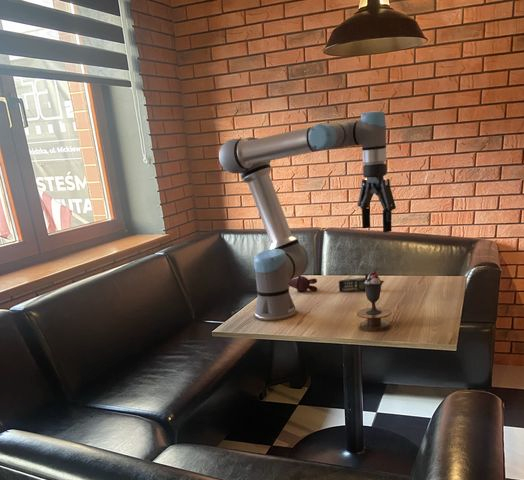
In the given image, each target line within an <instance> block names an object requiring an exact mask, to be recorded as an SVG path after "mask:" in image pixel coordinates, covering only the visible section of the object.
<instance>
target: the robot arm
mask: <svg viewBox="0 0 524 480" xmlns="http://www.w3.org/2000/svg"><path fill="white" fill-rule="evenodd" d="M386 123H387V122H386V114H385V111H383V110H376V111H368V112H363V113H361V115H360V119H358V120H353V121H344V122H342V121H341V122H329V123H328V122H320V123H318V124H315V125H313V126H309V127H308V126H307V127H304V128H300V129H299V128H298V129H294V130H291V131H285V132H282V133H278V134H274V135H273V134H272V135H267V136H264V137H254V136H253V137H251V136H250V137H246V138H245V137H244V138H232V139H229V140H227V141H225V142H224V143H223V144H222V145H221V147H220V149H219V152H218V159H219V163H220V165H221V167H222V168H223V169H224V170H225V171H226V172H228V173H231V174H239V175H240V178H241V181H242V182H244V183H246V184H247V185H248V187H249V188H248V189H249V190H250V193H251V195H252V198H253V200H254V203H255V206H256V209H257V212H258V214H259V216H260V219H261V221H262V224H263V227H264V229H265V231H266V234H267V237H268V239H269V242H270V247H269V249H267V250H263V251H260V252H259V253H257V254H256V255H255V256H254V259H253V263H254V265H253V269H254V274H255V283H256V293H257V299H256V303H255V308H254V317H255V318H256V320H260V321H265V322H268V321H269V322H271V321H272V322H274V321H282V320H286V319H290V318H292V317H293V316H295V315H296V314H297V309H296V306H295V303H294V301H293V299H292V297H291V293H290V286H289V285H288V281H290V280H292V279H296V278H298V277H299V276H302V275H304V273H306V272H307V271H308V269H309V267H310V265H311V256H310V252H309V250H308V248H306V246H303V245H302V244H300V241H299V239H298V238H297V237H296V236H293V235H292V231H291V229H290V226H289V223H288V220H287V218H286V215H285V213H284V209H283V207H282V204H281V202H280V199H279V197H278V195H277V192H276V188H275V186H274V184H273V181H272V178H271V176H270V173H271V172H272V167H271V162H272V161H275V160H281V159H286V158H290V157H291V158H292V157H296V156H300V155H306V154H310V153H317V152H323V151H328V150H332V149H342V148H348V147H356V146H361V151H362V152H361V155H362V157H361V158H362V164H363V166H362V176H363V177H364V178H362V179H361V181H360V182H361V183H360V184H361V186H360V190H359V196H358V201H357V207H358V208H359V207H360V209H361V225H362V226H361V227H362V229H369V228H371V206H370V203H371V201H372V199H373V196H374V195H376V196H377V198H378V200H379V203H380V205H381V206H382V209H383V210H382V233H391V232H392V230H393V229H392V221H393V220H392V219H393V218H392V212H393V210H396V208H397V205H396V202H395V199H394V196H393V192H392V188H391V182H390V181H391V180H390V178H384V176H386V175H387V174H388V169H387V163H385V162H386V161H387V124H386Z"/></svg>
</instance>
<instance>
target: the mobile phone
mask: <svg viewBox="0 0 524 480" xmlns="http://www.w3.org/2000/svg"><path fill="white" fill-rule="evenodd" d="M364 281H365V277H359V278H357V277H356V278H348V279H340V280H339V281H338V288H339V290H338V291H339V292H340V293H341V292H342V293H343V292H345V293H346V292H363V291H366V290H365V285H363V283H362V282H364Z"/></svg>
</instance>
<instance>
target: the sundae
mask: <svg viewBox="0 0 524 480" xmlns="http://www.w3.org/2000/svg"><path fill="white" fill-rule="evenodd" d="M377 270H379V267H378V266H376V268H375V270H374V271H372V273H369V274H365V276H364V278H365V281H364V282H362V283H363V285H365V290H364V291H365V295H366V299H367V301H369V302H370V303H371V307H370V308H371V310H369V311H367V312H366V313H367V314H369V315H376V314H380V313H381V312H382V311H380V310H377V309H376V308H377V307H376V302H378V301H379V299H380V297H381V292H382V285H383V284H384V282H385V281H384V280H381V278H380V277H379V275H378V274H377Z"/></svg>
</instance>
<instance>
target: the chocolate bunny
mask: <svg viewBox="0 0 524 480" xmlns="http://www.w3.org/2000/svg"><path fill="white" fill-rule="evenodd" d="M317 282H318V280H317V278H315V277H314V278H309V279H308V278H307V277H306V276H302V275H301V276H299V277H296V278H294V279H292V280H290V281H288V285H289V287H291V288H293V289H296V292H297V293H299V292H305V291H308V290H309V291H313V292H317V291H318V287H317V286H315V284H317Z"/></svg>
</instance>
